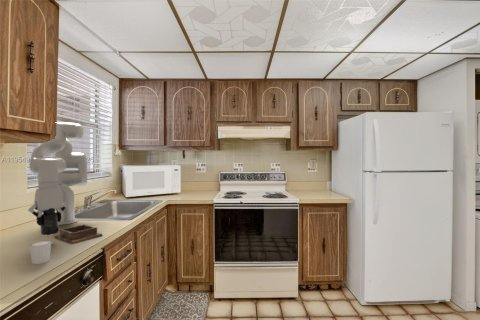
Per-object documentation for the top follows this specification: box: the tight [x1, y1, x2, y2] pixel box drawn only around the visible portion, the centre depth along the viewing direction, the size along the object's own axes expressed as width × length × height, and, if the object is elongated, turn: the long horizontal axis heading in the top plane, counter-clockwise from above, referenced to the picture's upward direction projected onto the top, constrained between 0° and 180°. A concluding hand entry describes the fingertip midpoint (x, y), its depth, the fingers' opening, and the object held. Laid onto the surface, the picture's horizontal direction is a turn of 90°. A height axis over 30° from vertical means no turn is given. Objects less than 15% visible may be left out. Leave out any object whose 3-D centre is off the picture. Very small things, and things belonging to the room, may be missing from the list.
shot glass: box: [28, 240, 52, 265], centre depth 104 cm, size 7×7×7 cm
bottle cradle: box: [54, 223, 103, 244], centre depth 135 cm, size 18×14×4 cm
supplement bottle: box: [40, 208, 59, 236], centre depth 125 cm, size 7×7×12 cm
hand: (49, 222), depth 125 cm, fingers closed on supplement bottle, 6 cm apart
